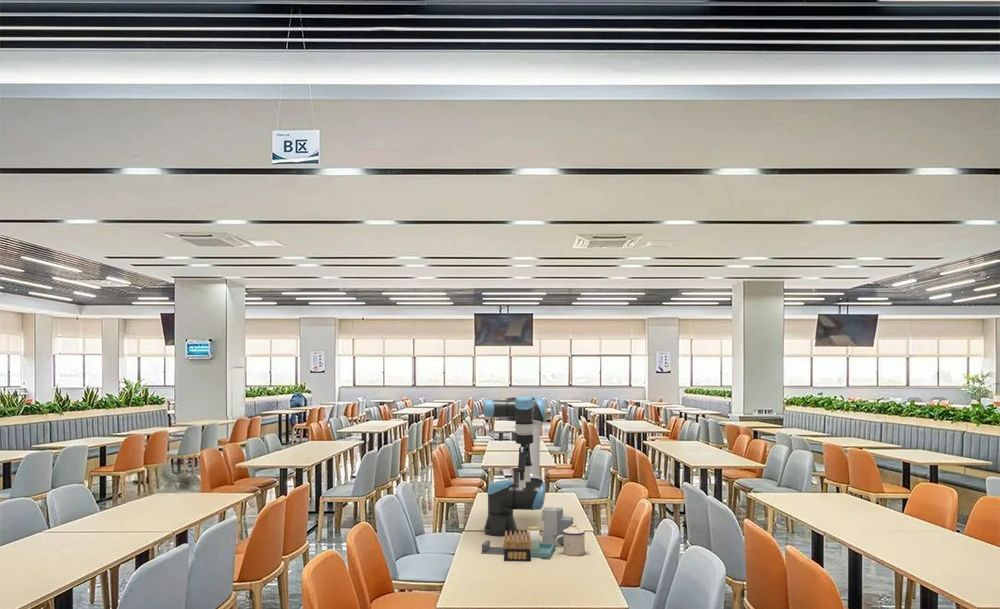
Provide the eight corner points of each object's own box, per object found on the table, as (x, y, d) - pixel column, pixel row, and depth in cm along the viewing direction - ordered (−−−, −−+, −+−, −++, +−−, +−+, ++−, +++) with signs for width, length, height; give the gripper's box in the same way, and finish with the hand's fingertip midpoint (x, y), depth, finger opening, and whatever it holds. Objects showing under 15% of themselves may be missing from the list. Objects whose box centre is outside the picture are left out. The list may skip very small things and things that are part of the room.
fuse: (528, 549, 310) (528, 525, 311) (540, 550, 309) (540, 525, 310) (526, 552, 305) (526, 527, 306) (538, 553, 304) (538, 528, 305)
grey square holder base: (487, 547, 317) (487, 539, 317) (512, 548, 315) (512, 540, 315) (480, 554, 305) (480, 545, 306) (506, 555, 303) (506, 547, 303)
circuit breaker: (575, 547, 316) (575, 511, 318) (542, 546, 319) (541, 510, 320) (577, 543, 324) (576, 508, 325) (544, 542, 327) (544, 507, 328)
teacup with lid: (583, 550, 312) (583, 521, 312) (586, 555, 302) (586, 526, 303) (554, 550, 311) (554, 522, 312) (557, 556, 302) (556, 526, 303)
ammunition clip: (531, 561, 295) (530, 530, 296) (530, 562, 293) (530, 531, 294) (504, 560, 296) (503, 529, 297) (503, 562, 294) (503, 530, 295)
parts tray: (518, 548, 316) (518, 542, 316) (555, 549, 313) (555, 543, 313) (511, 557, 301) (510, 551, 301) (549, 559, 297) (549, 553, 298)
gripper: (520, 430, 329) (520, 478, 328) (510, 437, 305) (510, 490, 304) (537, 430, 328) (537, 479, 327) (528, 437, 303) (529, 490, 303)
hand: (524, 484), depth 315 cm, fingers open, 13 cm apart
